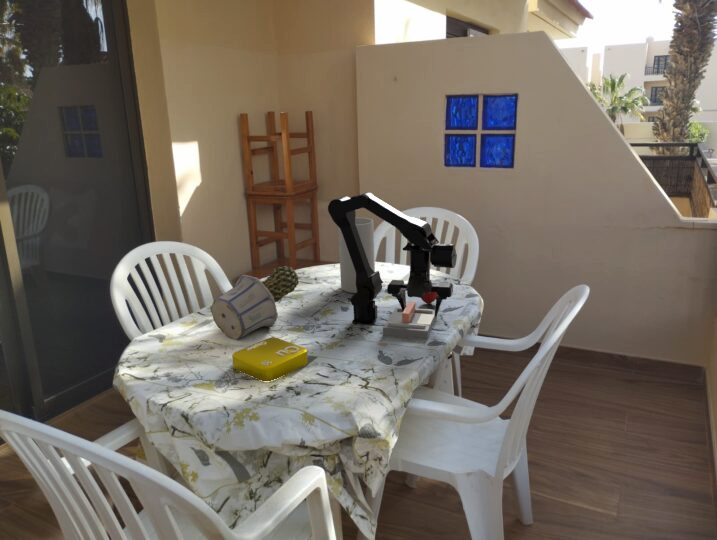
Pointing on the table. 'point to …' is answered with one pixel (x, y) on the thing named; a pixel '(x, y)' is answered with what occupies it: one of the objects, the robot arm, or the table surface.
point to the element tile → (270, 359)
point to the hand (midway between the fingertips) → (420, 315)
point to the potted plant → (252, 302)
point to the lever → (408, 312)
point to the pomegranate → (429, 297)
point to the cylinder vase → (346, 264)
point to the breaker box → (410, 324)
